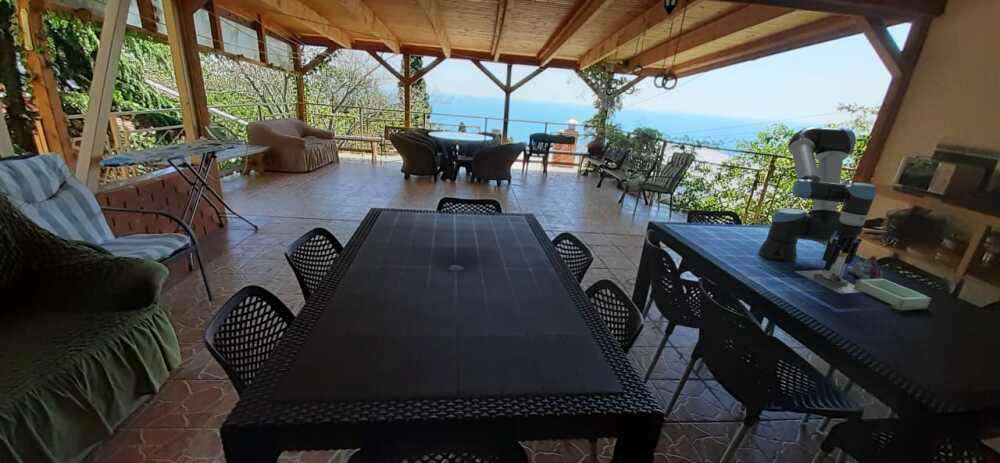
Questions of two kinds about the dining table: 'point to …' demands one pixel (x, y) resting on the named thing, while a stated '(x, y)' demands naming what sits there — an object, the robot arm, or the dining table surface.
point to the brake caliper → (866, 269)
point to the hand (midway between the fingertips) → (831, 277)
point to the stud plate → (830, 282)
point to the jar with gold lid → (838, 265)
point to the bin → (893, 294)
